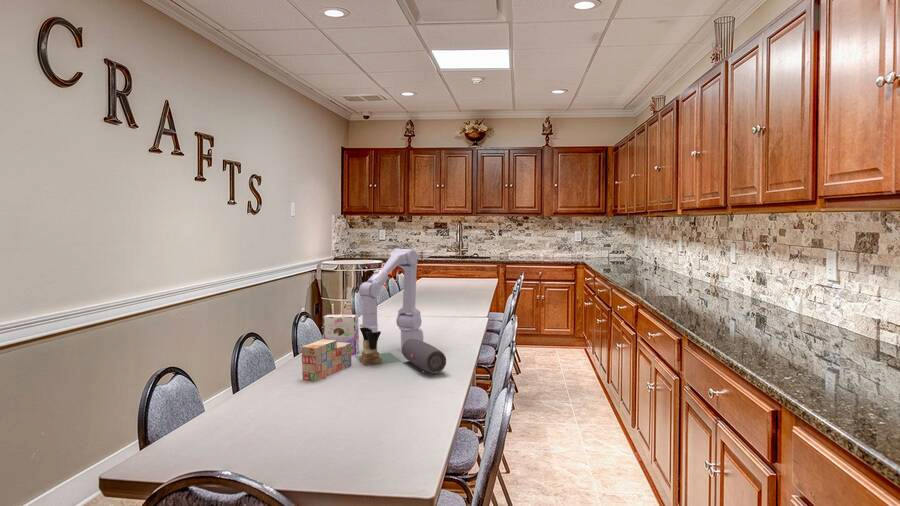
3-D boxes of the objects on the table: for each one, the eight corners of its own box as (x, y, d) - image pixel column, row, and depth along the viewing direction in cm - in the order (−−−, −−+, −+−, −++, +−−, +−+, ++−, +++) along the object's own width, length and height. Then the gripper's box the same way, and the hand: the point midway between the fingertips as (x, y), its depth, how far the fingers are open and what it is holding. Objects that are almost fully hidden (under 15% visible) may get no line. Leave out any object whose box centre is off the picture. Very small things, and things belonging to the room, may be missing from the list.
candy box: (359, 352, 233) (358, 314, 232) (355, 355, 228) (355, 316, 227) (328, 351, 235) (327, 313, 234) (323, 355, 229) (322, 316, 228)
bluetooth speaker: (400, 363, 215) (400, 338, 215) (421, 360, 220) (421, 335, 219) (424, 378, 195) (424, 350, 195) (447, 374, 200) (447, 347, 199)
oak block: (374, 350, 218) (373, 339, 218) (377, 352, 214) (377, 341, 214) (363, 351, 217) (362, 340, 216) (366, 354, 212) (365, 342, 212)
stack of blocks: (338, 365, 214) (337, 333, 213) (351, 366, 211) (351, 335, 211) (302, 380, 195) (301, 345, 194) (316, 382, 192) (315, 347, 191)
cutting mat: (389, 353, 231) (389, 352, 231) (401, 362, 217) (401, 361, 217) (354, 357, 225) (354, 356, 225) (364, 366, 211) (364, 365, 211)
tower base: (376, 359, 220) (376, 354, 220) (381, 363, 214) (381, 358, 214) (359, 361, 217) (359, 356, 217) (364, 365, 211) (364, 360, 211)
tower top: (375, 354, 219) (375, 350, 219) (379, 358, 214) (379, 353, 214) (361, 356, 217) (361, 351, 217) (365, 359, 212) (365, 354, 212)
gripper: (355, 310, 219) (355, 344, 220) (364, 316, 206) (365, 352, 207) (372, 309, 222) (372, 342, 223) (382, 315, 209) (383, 350, 210)
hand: (370, 347), depth 215 cm, fingers open, 7 cm apart
